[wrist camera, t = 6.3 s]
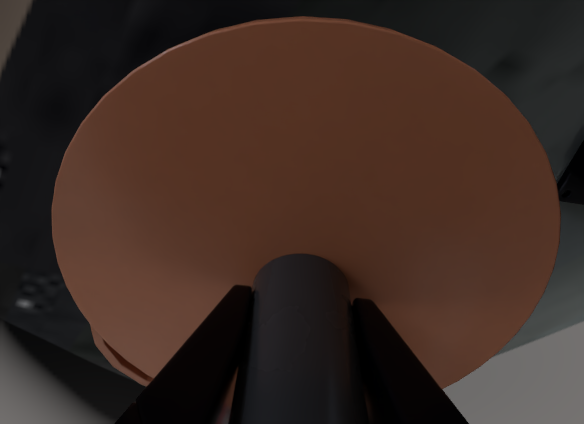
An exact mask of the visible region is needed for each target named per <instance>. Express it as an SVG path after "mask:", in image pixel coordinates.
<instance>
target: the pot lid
mask: <svg viewBox="0 0 584 424" xmlns="http://www.w3.org/2000/svg"><path fill="white" fill-rule="evenodd" d="M560 222H561V211H560V204H559V197H558V190H557V183H556V180H555V177H554V174H553V171H552V168H551V165H550V162H549V160H548V157H547V154H546V152H545V150H544V148H543V146H542V145H541V143H540V141H539V139H538V137H537V136H536V134H535V132H534V130H533V129H532V127H531V125H530V123H529V122H528V121H527V120H526V119H525V117H524V116H523V115H522V114H521V113H520V111H519V110H518V109H517V108H516V107H515V105H514V104H513V103H512V102H511V101H510V99H509V98H508V97H507V96H506V95H505V94H504V93H503V92H502V91H500V90H499V89H498V88H497V87H496V86H494V85H493V84H492V83H491V82H490V81H488V80H487V79H486V78H485V77H484V76H482V75H481V74H480V73H479V72H478V71H476V70H475V69H474V68H472V67H470V66H469V65H467V64H465V63H463V62H462V61H460V60H458V59H457V58H455V57H453V56H451V55H450V54H448V53H446V52H445V51H443V50H441V49H439V48H438V47H436V46H433V45H431V44H428V43H426V42H423V41H421V40H418V39H415V38H413V37H410V36H408V35H405V34H402V33H400V32H397V31H395V30H392V29H389V28H384V27H380V26H375V25H371V24H366V23H361V22H357V21H352V20H348V19H334V18H319V17H304V16H300V17H288V18H276V19H264V20H255V21H251V22H247V23H243V24H238V25H234V26H230V27H226V28H222V29H217V30H214V31H211V32H209V33H206V34H204V35H201V36H199V37H196V38H194V39H191V40H189V41H187V42H184V43H182V44H179V45H177V46H174V47H172V48H170V49H168V50H166V51H164V52H163V53H161V54H159V55H158V56H156V57H154V58H153V59H151V60H150V61H148V62H146V63H145V64H143V65H141V66H140V67H138V68H136V69H135V70H133V71H132V72H131V73H130V74H128V75H127V76H126V77H125V78H124V79H123V80H121V81H120V82H119V83H118V84H117V85H116V86H114V87H113V88H112V89H111V90H110V91H109V92H108V93H106V94H105V95H104V96H103V97H102V99H101V100H100V101H99V102H98V103H97V105H96V106H95V107H94V108H93V110H92V111H91V112H90V113H89V114H88V116H87V117H86V118H85V119H84V121H83V122H82V123H81V125H80V127H79V128H78V130H77V132H76V134H75V136H74V137H73V139H72V141H71V143H70V145H69V146H68V148H67V150H66V152H65V155H64V158H63V161H62V164H61V167H60V170H59V173H58V176H57V179H56V183H55V190H54V197H53V204H52V234H53V241H54V246H55V251H56V256H57V261H58V264H59V267H60V270H61V272H62V275H63V278H64V280H65V283H66V286H67V288H68V289H69V291H70V293H71V295H72V297H73V299H74V300H75V302H76V304H77V306H78V308H79V309H80V310H81V312H82V313H83V315H84V316H85V317H86V319H87V320H88V321H89V323H90V324H91V326H92V327H93V328H94V329H95V330H96V331H97V332H98V334H99V335H100V336H101V337H102V338H103V339H104V340H105V341H106V342H107V343H108V344H109V345H110V346H111V347H112V348H113V349H114V350H115V351H117V352H118V353H119V354H120V355H121V356H122V357H124V358H125V359H126V360H127V361H128V362H130V363H131V364H133V365H134V366H135V367H137V368H138V369H140V370H141V371H142V372H144V373H145V374H147V375H149V376H150V377H152V378H155V376H156V375H157V374H158V373H159V372H160V371H161V369H162V368H163V367H164V366H165V365H166V364H167V362H168V361H169V360H170V359H171V358H172V357H173V355H174V354H175V353H176V352H177V351H178V350H179V348H180V347H181V346H182V345H183V344H184V343H185V341H186V340H187V339H188V338H189V337H190V336H191V334H192V333H193V332H194V331H195V330H196V329H197V327H198V326H199V325H200V324H201V323H202V322H203V320H204V319H205V318H206V317H207V316H208V315H209V313H210V312H211V311H212V310H213V309H214V308H215V306H216V305H217V304H218V303H219V302H220V301H221V300H222V298H223V297H224V296H225V295H226V294H227V293H228V291H229V290H230V289H231V288H232V287H233V286H234V285H236V284H238V285H247V286H251V288H252V295H251V300H250V306H249V312H248V318H247V324H246V329H245V335H244V340H243V345H242V350H241V354H240V360H239V366H238V371H237V377H236V383H235V388H234V394H233V400H232V406H231V411H230V417H229V423H228V424H369V420H368V413H367V406H366V400H365V393H364V386H363V379H362V373H361V366H360V359H359V352H358V346H357V339H356V332H355V325H354V319H353V312H352V302H353V300H354V299H355V298H365V299H371V300H372V301H374V303H375V304H376V305H377V307H378V308H379V309H380V310H381V312H382V313H383V314H384V315H385V317H386V318H387V319H388V321H389V322H390V323H391V324H392V326H393V327H394V328H395V330H396V331H397V332H398V333H399V335H400V336H401V337H402V339H403V340H404V341H405V342H406V344H407V345H408V346H409V348H410V349H411V350H412V351H413V353H414V354H415V355H416V357H417V358H418V359H419V360H420V362H421V363H422V364H423V365H424V367H425V368H426V369H427V371H428V372H429V373H430V374H431V376H432V377H433V378H434V380H435V381H436V382H437V383H438V385H439V386H440V387H441V389H443V388H445V387H447V386H449V385H451V384H453V383H455V382H457V381H459V380H460V379H462V378H463V377H465V376H466V375H468V374H470V373H471V372H473V371H474V370H476V369H477V368H479V367H480V366H481V365H483V364H484V363H485V362H486V361H488V360H489V359H490V358H491V357H493V356H494V355H495V354H496V353H498V352H499V351H500V350H501V349H502V348H503V347H504V346H505V345H506V344H507V343H508V342H509V341H510V340H511V339H512V338H513V337H514V336H515V335H516V333H517V332H518V331H519V330H520V328H521V327H522V326H523V324H524V323H525V322H526V321H527V319H528V318H529V317H530V316H531V314H532V312H533V311H534V309H535V307H536V305H537V304H538V302H539V300H540V299H541V297H542V295H543V294H544V291H545V289H546V286H547V284H548V281H549V279H550V276H551V274H552V271H553V269H554V265H555V260H556V256H557V251H558V247H559V242H560Z"/></svg>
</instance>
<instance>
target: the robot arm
mask: <svg viewBox="0 0 584 424" xmlns="http://www.w3.org/2000/svg"><path fill="white" fill-rule="evenodd" d="M557 190H558V197H559V201H562V202H569V203H577V204H584V141H583V142H582V144H581V146H580V147H579V149H578V151H577V152H576V154H575V156H574V157H573V159H572V161H571V162H570V164H569V166H568V167H567V169H566V171H565V172H564V174H563V176H562V177H561V179H560V181H559V182H558V184H557ZM566 190H567V191H566ZM564 191H566V192H565V193H564V194H562V193H563V192H564ZM251 295H252V288H251V286H247V285H238V284H236V285H234V286H233V287H232V288H231V289H230V290H229V291H228V293H227V294H226V295H225V296H224V297H223V298H222V300H221V301H220V302H219V303H218V304H217V305H216V306H215V308H214V309H213V310H212V311H211V312H210V313H209V315H208V316H207V317H206V318H205V319H204V320H203V322H202V323H201V324H200V325H199V326H198V327H197V329H196V330H195V331H194V332H193V333H192V334H191V336H190V337H189V338H188V339H187V340H186V341H185V343H184V344H183V345H182V346H181V347H180V348H179V350H178V351H177V352H176V353H175V354H174V355H173V357H172V358H171V359H170V360H169V361H168V362H167V364H166V365H165V366H164V367H163V368H162V369H161V371H160V372H159V373H158V374H157V375H156V376H155V378H154V379H153V380H152V381H151V382H150V383H149V384H148V386H147V387H146V388H145V389H144V390H143V391H142V393H141V394H140V395H139V396H138V397H137V399H136V403H132V404H131V405H130V407H128V409H127V410H126V411H125V412H124V413H123V415H122V416H121V417H120V418H119V419H118V420H117V421H116V423H115V424H228V423H229V417H230V411H231V406H232V400H233V394H234V388H235V383H236V377H237V371H238V366H239V360H240V354H241V350H242V345H243V340H244V335H245V329H246V324H247V318H248V312H249V306H250V300H251ZM352 312H353V319H354V325H355V332H356V339H357V346H358V352H359V359H360V366H361V373H362V379H363V386H364V393H365V400H366V406H367V413H368V420H369V424H469V423H468V422H467V421H466V419H465V418H464V417H463V416H462V414H461V413H460V412H459V411H458V409H457V408H456V407H455V405H454V404H453V403H452V401H451V400H450V399H449V398H448V396H447V395H446V394H445V392H444V391H443V390H442V389H441V387H440V386H439V385H438V383H437V382H436V381H435V380H434V378H433V377H432V376H431V374H430V373H429V372H428V371H427V369H426V368H425V367H424V365H423V364H422V363H421V362H420V360H419V359H418V358H417V357H416V355H415V354H414V353H413V351H412V350H411V349H410V348H409V346H408V345H407V344H406V342H405V341H404V340H403V339H402V337H401V336H400V335H399V333H398V332H397V331H396V330H395V328H394V327H393V326H392V324H391V323H390V322H389V321H388V319H387V318H386V317H385V315H384V314H383V313H382V312H381V310H380V309H379V308H378V307H377V305H376V304H375V303H374V301H372V300H371V299H365V298H355V299H354V300H353V302H352Z"/></svg>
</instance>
